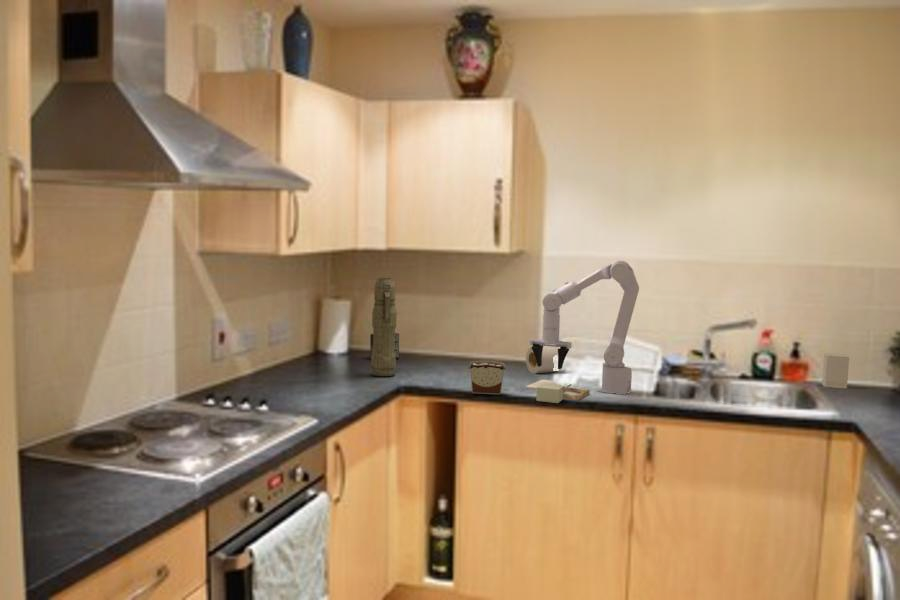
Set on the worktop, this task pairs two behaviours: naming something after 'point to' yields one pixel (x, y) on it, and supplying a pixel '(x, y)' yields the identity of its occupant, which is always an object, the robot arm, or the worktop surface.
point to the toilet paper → (546, 360)
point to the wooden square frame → (574, 390)
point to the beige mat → (538, 383)
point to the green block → (549, 393)
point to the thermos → (384, 328)
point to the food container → (487, 376)
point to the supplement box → (835, 370)
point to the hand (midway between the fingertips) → (549, 367)
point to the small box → (395, 345)
